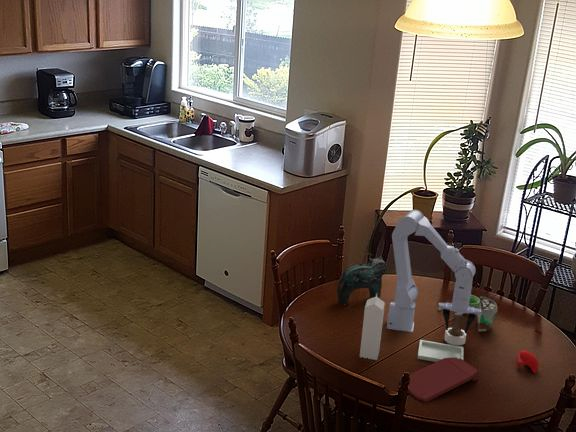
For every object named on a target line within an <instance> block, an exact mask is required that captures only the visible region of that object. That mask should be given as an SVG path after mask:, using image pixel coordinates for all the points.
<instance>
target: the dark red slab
mask: <svg viewBox="0 0 576 432" xmlns="http://www.w3.org/2000/svg"><path fill="white" fill-rule="evenodd" d="M478 372H479V370H478V369H477V368H475V367H474V366H472V365H471V364H469V363H468V362H467V361H465V360H464V359H463V360H462V359H461V358H459V359H458V358H457V357H454V358H444V359H442V360H439V361H437V362H433V363H431V364H429V365H427V366H424V367H422V368H421V369H418V370H416V371H414V372H412V373H410V374H409V375H410V384H409V392H408V393H409V394H410V395H412V397H414V398H415V399H416V400H419V401H422V402H425V403H426V402H429V401H432V400H433V399H436V398H438V397H439V396H442V395H443V394H445V393H448V392H449V391H452V390H453V389H455V388H458V387H459V386H461V385H463V384H466V383H467V382H469V381H472V382H474V381H475V382H476V381H477V380H478V374H479V373H478ZM401 379H402V378H400V380H401ZM400 380H399V381H400Z"/></svg>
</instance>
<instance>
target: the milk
mask: <svg viewBox="0 0 576 432" xmlns="http://www.w3.org/2000/svg"><path fill="white" fill-rule="evenodd" d="M385 306H386V302H385V301H383V300H382V299H381V298H380V299H379V298H378V297H377V294H376V297H374V298H371V299H370V298H368V299H367V300H366V303H365V306H364V314H363V322H362V331H361V339H360V341H361V342H360V351H359V358H362V357H363V359H367V358H368V360H373V361H378V358H379V353H380V347H381V341H382V340H381V339H382V331H383V322H384V314H385Z"/></svg>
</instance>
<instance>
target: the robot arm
mask: <svg viewBox="0 0 576 432" xmlns="http://www.w3.org/2000/svg"><path fill="white" fill-rule="evenodd" d="M393 229H394V230H393V231H392V233H391V238H392V247H393V249H392V250H393V257H394V263H395V271H396V272H395V273H396V279H397V282H396V286H395V296H394V301H392V302H390V303H389V307H388V314H387V317H386V322H387V323H386V329H387V330H388V329H389V330H394V331H403V332H408V333H413V332H414V326H415V321H414V318H415V309H416V301H415V300H416V299H417V298H418V296H419V289H418V287H417V286H416V283H415V280H414V279H413V277H412V268H411V258H410V252H409V243H408V237H409V236H410V235H412V234H413V233H414V236H421V237H425V238H426V240H428V241H429V242H430V243H431V244H432V245H433V246H434V247H435V248H436V249H437V250H438V251H439V252H440V258H441V260H443V262H445V264H446V265H447V266H448V267H449V268H450V269H451V271H452V272H454V277H455V282H454V288H453V290H454V291H453V293H452V294H453V295H452V302H438V306H437V307H438V308H437V309H438V311H442V315H443V319H444V322H445V331H446V330H448V328H449V322H450V317H451V316H450V315H451V312H455V313H458V314H466V315H467V317H466V323H465V326H464V331H465V333H466V334H467V333H468V330H469V328H470V326H471V325H472V323H474V321H475V319H476V317H477V316H481V309H477V308H474V307H470V306H469V301H470V295H472V287H473V277H474V276H475V274H476V266H475V264H474V263H473V262H472V261H470V260H468V259H465V258H464V256H463V255H462V254H461V253H460V249H458V247H457V248H455V247H454V245H448V244H447V243H446V241H445V240H444V239H443V238H442V236H441V235H440V234H439V232H437V230H436V229H435V228H434V227H433V225H432V224H431V222H430V221H429V219H428V218H427V217H426V216H424V213H423V212H421V210H418V209H412V210H410V211H409V212H408V213H406V214H405V215H404V216H403V217H401V219H400V220H398V221H397V223H396V225H395V227H394V228H393Z"/></svg>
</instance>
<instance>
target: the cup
mask: <svg viewBox="0 0 576 432" xmlns="http://www.w3.org/2000/svg"><path fill="white" fill-rule="evenodd" d="M451 331H452V327H448V330H446V329H445V331H444V341H445V342H446V344H448V345H454V346H463V345H464V344H466V339H467V333H465V329H461V334H460V337H457V336H453V335H451Z"/></svg>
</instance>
